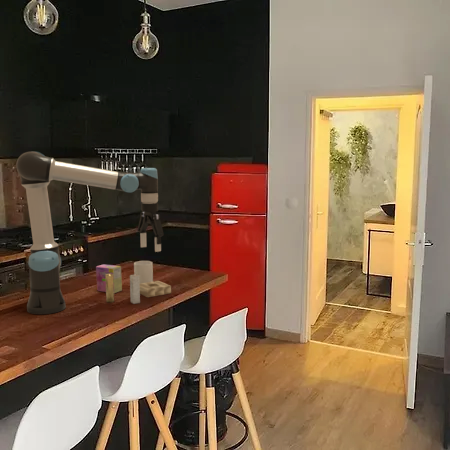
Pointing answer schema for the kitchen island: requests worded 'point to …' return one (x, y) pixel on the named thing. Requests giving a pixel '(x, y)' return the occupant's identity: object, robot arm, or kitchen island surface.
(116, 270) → the box
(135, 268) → the mug
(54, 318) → the kitchen island surface
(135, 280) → the square bit
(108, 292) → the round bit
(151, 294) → the socket block
